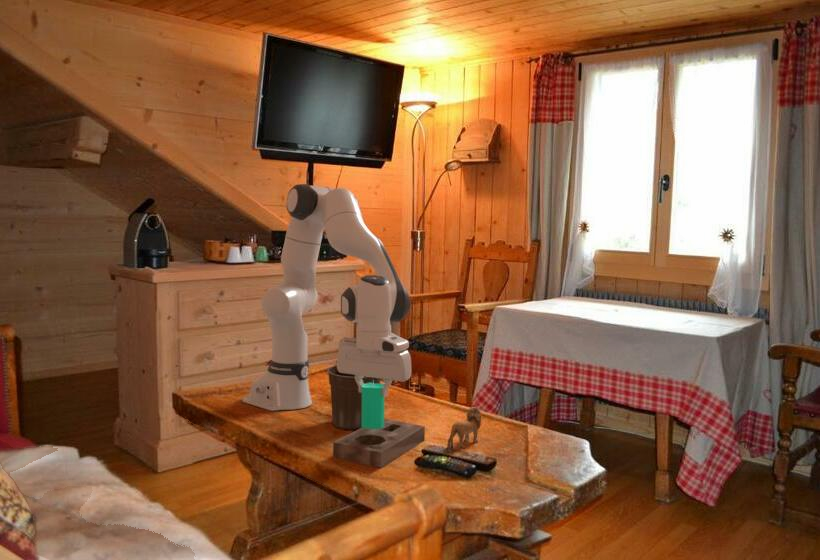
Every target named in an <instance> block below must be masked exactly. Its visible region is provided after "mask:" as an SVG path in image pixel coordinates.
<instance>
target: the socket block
mask: <svg viewBox="0 0 820 560" xmlns="http://www.w3.org/2000/svg"><path fill="white" fill-rule="evenodd" d="M425 433H426V426H425V425H420V424H415V423H409V422H406V421H405V422H404V421H399V420H393V419H388V418H384V427H382V428H379V429H367V428H363V427H362V428H357V429H355V431H354V430H353V432H350V433H349V434H346V435H344V436H343V437H340V438H339V439H337V440H335V441H333V442H332V458H334V459H338V460H341V461H347V462H351V463H356V464H360V465H365V466H369V467H373V468H377V469H382V468H384V467H385V466H387V465H389V464H390V463H392V462H394V461H395V460H397V459H398V458H399V457H402V455H403V456H404V454H406V453H407V452H409V451H410V450H412V449H414V448H416V447H417V446H418V445H420V444H421V443H423V442H424V441H425V437H426V436H425Z"/></svg>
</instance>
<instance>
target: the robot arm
mask: <svg viewBox="0 0 820 560" xmlns="http://www.w3.org/2000/svg"><path fill="white" fill-rule="evenodd" d="M286 210H287V212H288V214H289V216H290V220H289V222H288V225H287V229H286V233H285V239H284V243H283V247H282V250H281V257H280V262H281V265H282V267H283V279H282V280H283V281H282V283H279V284H276V285H275V284H274V286H272V287H270V288H269V289H268V290H267V291H266V292H264V294H263V296H262V297H261V308H262V309H261V310H262V311H263V313H264V314H265V316H266V317H267V319H268V323H269V328H270V332H271V344H272V345H271V346H272V347H271V349H272V351H271V353H272V354H271V355H272V357H271V358H272V359H270V360H269V361H266V362H264V363H265V365H264V366H265V367H266V366H268V367H267V370H266V371H265V372H264V373H262V374H261V375H260V376H259V377H257V378H256V379H254V380H253V381H252V383H251V385H250V389H249V394H247V395H245V396H243V398H242V403H244V404H249V405H252V406H255V407H258V408H261V409H265V410H268V411H271V412H274V411H281V410H282V411H285V410H286V411H287V410H300V409H304V408H307V407H310V406H311V405H312V404H313V401H312V396H311V392H310V386H309V385H310V384H309V374H310V373H309V372H310V371H309V370H310V360H309V359H308V356H309V355H308V354H309V353H308V352H309V351H308V346H309V336H308V333H307V332H306V331H305V328H304V324H303V319H302V317H303V316H302V315H303V314H306V313H308V312H309V311H310V310H312V309H313V308H314V307H315V306H316V305H317V302H318V300H319V299H318V298H319V295H318V294H319V293H318V290H317V288H316V282H317V280H316V277H317V276H316V272H317V264H318V260H319V259H318V258H319V254H320V248H321V243H322V240H323V233H324V232H325V236H326V239H327V241H328V243H329V245H330V246H331V248H332V249H334V250H335V251H337V252H338V253H340V254H341V255H345V256H348V257H352V258H357V259H359V260H362V261H363V262H366V263H367V264H369V265H370V266H371V267H372V268H373V270H374V272H375V275H374V274H373V275H371V274H368V275H364V276H361V277H360V278H359V280H358V283H357V284H356V285H353V286H348V287H347V288H346V289H345V290H344V291H343V293H342V294H341V296H340V313H341V314H340V315H342V316H343V317H344V318H345V319H346V320H347V321H348V322H352V323H356V328H355V330H356V332H355V335H356V336H355V337H348V336H344V337H343V338H341V339H340V340H339V341H338V353H337V360H336V365H337V369H338V371H339V372H340V373H345V374H352V375H355V380H356V382H357V384H358V386H359V392H360V393H362V385H363V384H364V383H363V380H362V378H363V377H364V376H366V377H373V378H380V379H382V381H383V382H382V384H383V385H384V387H383V389H381V395H382V396H385V397H387V396H388V394H389V388H390V386H391V384H392V383H393V381H395V382H402V383H403V382H404V383H405V382H406V381H408V380H409V379H410V378H411V377H412V357H411V354H410V352H409V351H408V349H409V348H410V347H409V346H410V341H409V340H407V339H405V338H403V337H400V336H399V335H397V334H395V333H394V332H392V324H391V323H400V322H401V321H402V320H404V319H405V318H406V316H407V315H408V314H409V313H410V310H411V305H412V303H411V298H410V295H409V292H408V290H407V289H406V287H405V285H403V283H402V281H401V279H400V277H399V276H398V273H397V271H396V269H395V267H394V265H393V262H392V261H391V258H390V256H389V254H388V251H387V250H386V247H385V245H384V243H383V241H381V238H379V237H377V235H375V234H373V233H372V232H371V230H369V228H368V226H366V223H365V222H364V217H363V214H362V211H361V208H360V206H359V200H358V198H357V197H356V195H354V194H353V192H352V191H350V190H349V189H348V188H345V187H336V188H334V187H329V186H319V185H310V184H306V183H301V184H300V183H299V184H295V185H293V186H292V188H290V190H289V192H288V194H287V197H286ZM366 386H367V385H366Z"/></svg>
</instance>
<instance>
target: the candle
mask: <svg viewBox="0 0 820 560" xmlns="http://www.w3.org/2000/svg"><path fill="white" fill-rule="evenodd" d="M366 385H367V386H366ZM384 385H385V384H384V383H380V384H375V383H374V380H373V383H366V384H363V385H362V427H363V428H367V429H379V428H382V427H384V419H385V398H386V396H382V395H381V389H383V387H384Z"/></svg>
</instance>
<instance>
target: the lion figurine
mask: <svg viewBox="0 0 820 560" xmlns="http://www.w3.org/2000/svg"><path fill="white" fill-rule="evenodd" d="M481 424H482V412H481V410H480V409H479V408H478V407H476V406H471V407H470V408H468V410H467V412H466V420H465V421H464V420H463V421H457V422H454V423H453V425H452V427H451V430H450V431H451V432H450V435H449V438H448V440H447V448H450V450H451V449H452V450H453V449H454V437H455V436H456V435H457V437H458V439H459V441H458V443H459V445H460V447H461V448H463V449H465V448H467V445H465V444H464V443H463V442H464V441H466V442H468V441H470V436H469V434H471V433H472V434H473V440H472V441H473V443H479V441H478V440H477V439H478V434H479V431H478V430H479V429H480V428H481Z"/></svg>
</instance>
